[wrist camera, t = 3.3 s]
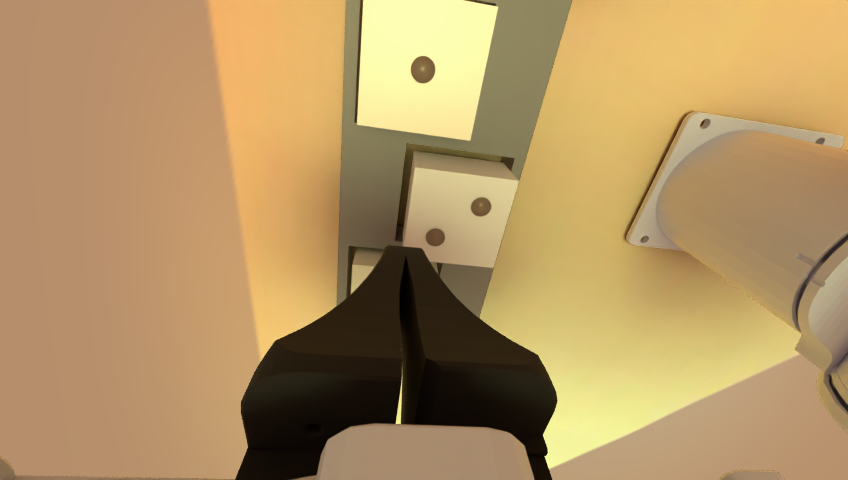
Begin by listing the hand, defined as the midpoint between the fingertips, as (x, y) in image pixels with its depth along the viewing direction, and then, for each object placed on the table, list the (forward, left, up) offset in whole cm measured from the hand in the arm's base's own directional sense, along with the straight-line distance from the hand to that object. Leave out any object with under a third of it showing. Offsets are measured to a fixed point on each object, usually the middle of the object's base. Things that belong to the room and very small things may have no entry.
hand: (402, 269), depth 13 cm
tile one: (0, -7, -6) cm, 9 cm away
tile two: (-2, -1, -6) cm, 7 cm away
